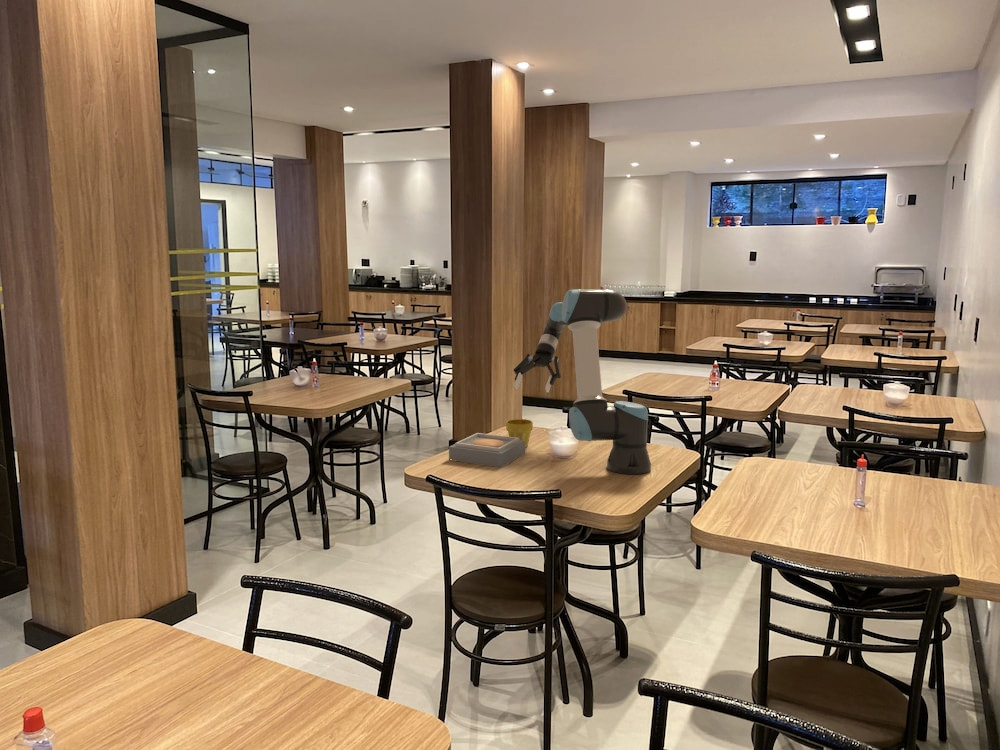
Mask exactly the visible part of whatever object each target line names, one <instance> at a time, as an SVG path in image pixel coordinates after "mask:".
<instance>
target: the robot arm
mask: <svg viewBox="0 0 1000 750" xmlns="http://www.w3.org/2000/svg"><path fill="white" fill-rule="evenodd" d="M627 310H628V304H627V300H626V298H625V297H624V296H623V295H622V294H621V293H619V292H618V291H615V290H612V289H608V288H607V289H606V288H605V289H591V288H589V289H588V288H587V289H583V288H582V289H581V288H578V289H569V290H567V291H566V293H565V295H564V297H563V301H561V302H560V301H559V302H555V303H554V304H552V306H551V308H550V311H549V314H548V317H547V320H546V323H545V326H544V328H543V331H542V334H541V336H540V339H539V341H538V345H537V346H536V349H535V352H534V354H533V355H531V354H530V353H527V354H526V356H525V358H524V359H522V360H521V362H520V363H519V364H518V365H517V366H516V367H514V368H513V372H514V374H515V377H514V381H515V382H514V383H513V387H514V388H515V390H518V389H519V388H520V385H521V383H522V382H521V381H522V379H523V375H524V374H526V373H527V372H529V371H530V370H532V368H536V367H542V368H545V367H546V368H547V370H548V371H549V372H548V373H550V375H549V377H548V379H547V382H546V384H545V387H544V389H545V392H546V393H550V390H551V387H552V386H553V385H554V384H555V382H556V379H561V378H562V376H561V370H560V366H559V362H560V359H559V357H558V356H557V355H556V356H554V355H555V352H556V350H557V347H558V344H559V341H560V338H561V336H562V333H563V330H564V329H565V326H566V327H567V329H568V330H569V331H570V332H571V333H572V341H573V355H574V371H575V383H576V396H577V398H576V400H574V402H573V406H572V407H570V409H569V411H568V419H569V420H568V421H569V427H570V430H571V432H572V433H571V434H572V435H573V437H574V438H575V439H576V440H577V441H582V442H583V441H584V442H585V441H586V442H592V441H612V447H611V450H610V452H609V456H608V458H607V461H606V468H607V470H609V471H610V472H614V473H618V474H625V475H642V473H643V474H646V473H649V472H651V470H652V463H651V460H650V455H649V452H648V449H647V448H648V447H647V445H648V423H649V415H648V414H649V411H648V408H647V407H646V406H644V405H643V404H639V403H637V402H636V403H635V402H632V401H631V402H630V401H625V400H624V401H623V400H618V401H617V400H616V401H614V402H613V406H609V405H608V400H607V399H606V398H605V397H603V389H602V388H603V387H602V378H601V365H600V353H599V340H598V329H599V328H600V327H601V325H602V323H607V322H615V321H619V320H620V319H622V318H623V317H624V316H625V315H626V313H627ZM552 362H553V364H554V368H555V369H554V370H555V371H554V370H553V368H552V367H551V365H550V364H551V363H552Z"/></svg>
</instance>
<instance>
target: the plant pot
mask: <svg viewBox="0 0 1000 750" xmlns="http://www.w3.org/2000/svg"><path fill="white" fill-rule="evenodd" d="M533 423H534V422H533V421H532V420H531V419H526V418H525V419H524V418H514V419H507V421H506V422H505V428H506V431H507V433H508V437H516V438H519V440H525V448H527V447H528V446H529V443H530V437H531V434H532V433H531V432H532V431H533V426H534V425H533Z"/></svg>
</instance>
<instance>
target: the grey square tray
mask: <svg viewBox="0 0 1000 750" xmlns="http://www.w3.org/2000/svg"><path fill="white" fill-rule="evenodd" d="M525 454H526V447H525V440H519V438H516V437H509V435H508V436H507V435H500V434H499V435H498V434H490V433H481V432H476V433H474V434H472V435H470V436H468V437H466V438H463V439H461V440H459V441H457V442H454V444H452V445H450V446H448V460H449V459H452V460H456V461H455V462H458V461H460V463H467V464H473V465H474V464H475V465H482V466H488V467H496V468H504V467H505V466H507V465H509V464H510V463H512V462H513V461H515V460H517V459H518V458H521V457H522V456H523V455H525Z"/></svg>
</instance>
